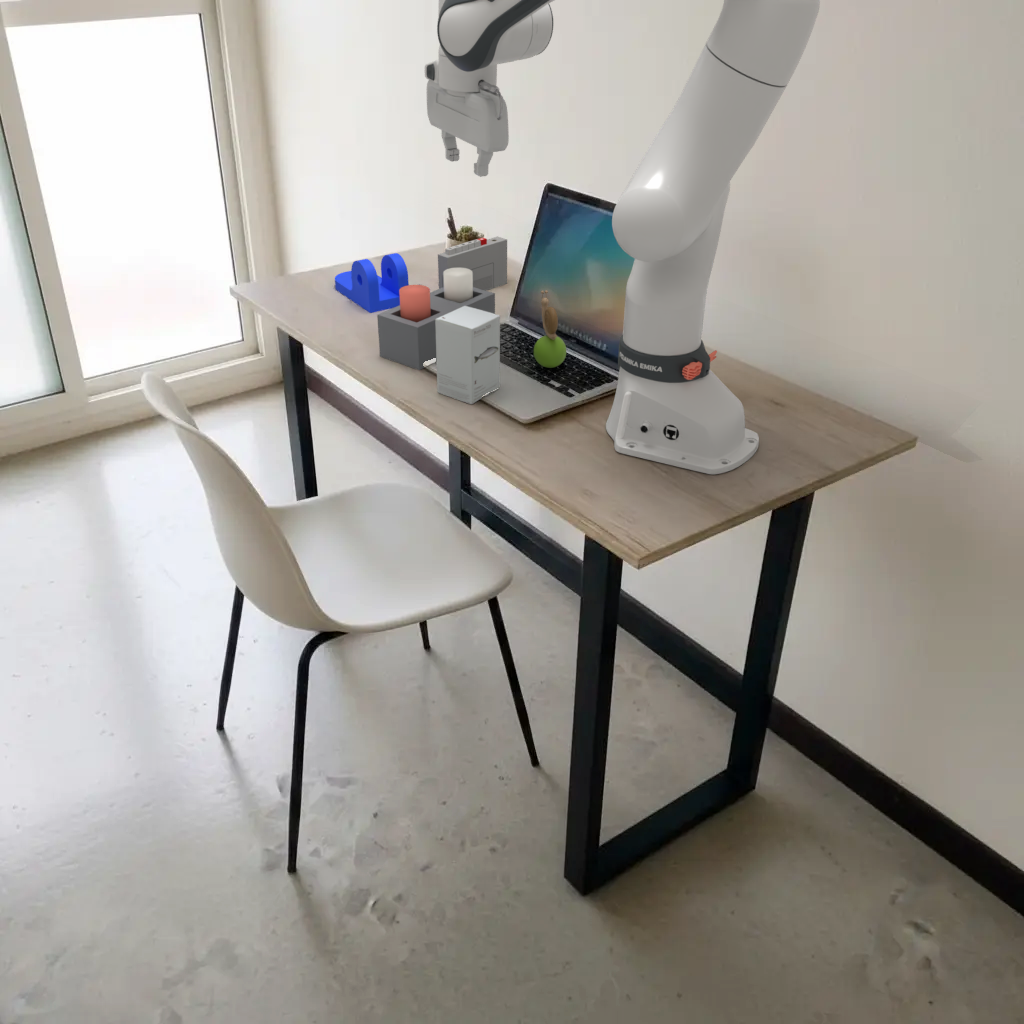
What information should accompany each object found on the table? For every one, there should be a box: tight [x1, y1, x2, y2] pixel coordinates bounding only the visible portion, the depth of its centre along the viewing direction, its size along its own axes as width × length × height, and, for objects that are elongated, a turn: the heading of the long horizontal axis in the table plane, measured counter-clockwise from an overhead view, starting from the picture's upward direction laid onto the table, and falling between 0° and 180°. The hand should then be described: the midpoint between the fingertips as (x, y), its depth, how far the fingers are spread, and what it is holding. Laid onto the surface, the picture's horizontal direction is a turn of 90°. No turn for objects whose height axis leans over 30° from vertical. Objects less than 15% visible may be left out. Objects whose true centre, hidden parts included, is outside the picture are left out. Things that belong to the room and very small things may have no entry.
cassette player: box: [437, 235, 508, 291], centre depth 203 cm, size 16×3×10 cm, turn 135°
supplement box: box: [435, 306, 501, 405], centre depth 164 cm, size 7×7×13 cm
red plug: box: [399, 284, 431, 322], centre depth 175 cm, size 5×5×6 cm
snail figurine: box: [533, 289, 567, 369], centre depth 173 cm, size 5×6×12 cm
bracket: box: [334, 252, 410, 314], centre depth 201 cm, size 18×8×9 cm, turn 34°
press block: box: [376, 287, 496, 371], centre depth 181 cm, size 9×20×8 cm, turn 142°
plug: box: [443, 268, 473, 303], centre depth 182 cm, size 5×5×6 cm
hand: (466, 167), depth 167 cm, fingers open, 8 cm apart
